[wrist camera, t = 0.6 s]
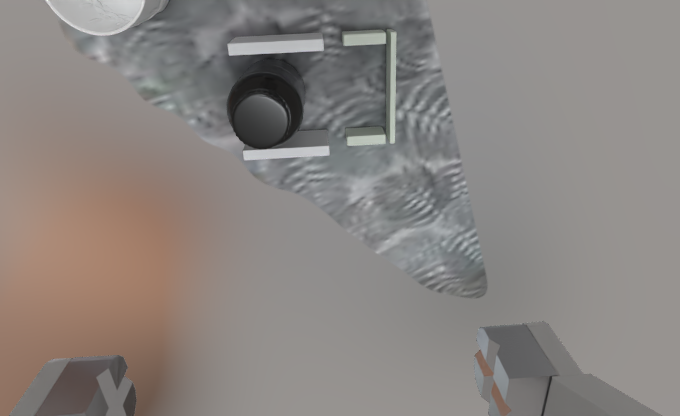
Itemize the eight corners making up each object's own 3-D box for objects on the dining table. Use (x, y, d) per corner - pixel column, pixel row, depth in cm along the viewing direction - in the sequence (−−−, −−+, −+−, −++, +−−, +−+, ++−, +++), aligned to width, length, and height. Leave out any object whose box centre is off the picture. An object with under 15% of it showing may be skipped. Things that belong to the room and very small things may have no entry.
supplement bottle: (302, 54, 47) (299, 77, 36) (308, 120, 50) (307, 159, 39) (234, 59, 46) (211, 83, 36) (244, 124, 49) (226, 165, 39)
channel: (236, 36, 45) (227, 43, 40) (321, 32, 46) (323, 38, 41) (250, 142, 50) (244, 160, 45) (327, 138, 51) (329, 155, 46)
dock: (341, 31, 46) (343, 34, 43) (391, 29, 46) (396, 32, 43) (345, 137, 51) (347, 145, 48) (390, 134, 51) (394, 143, 48)
